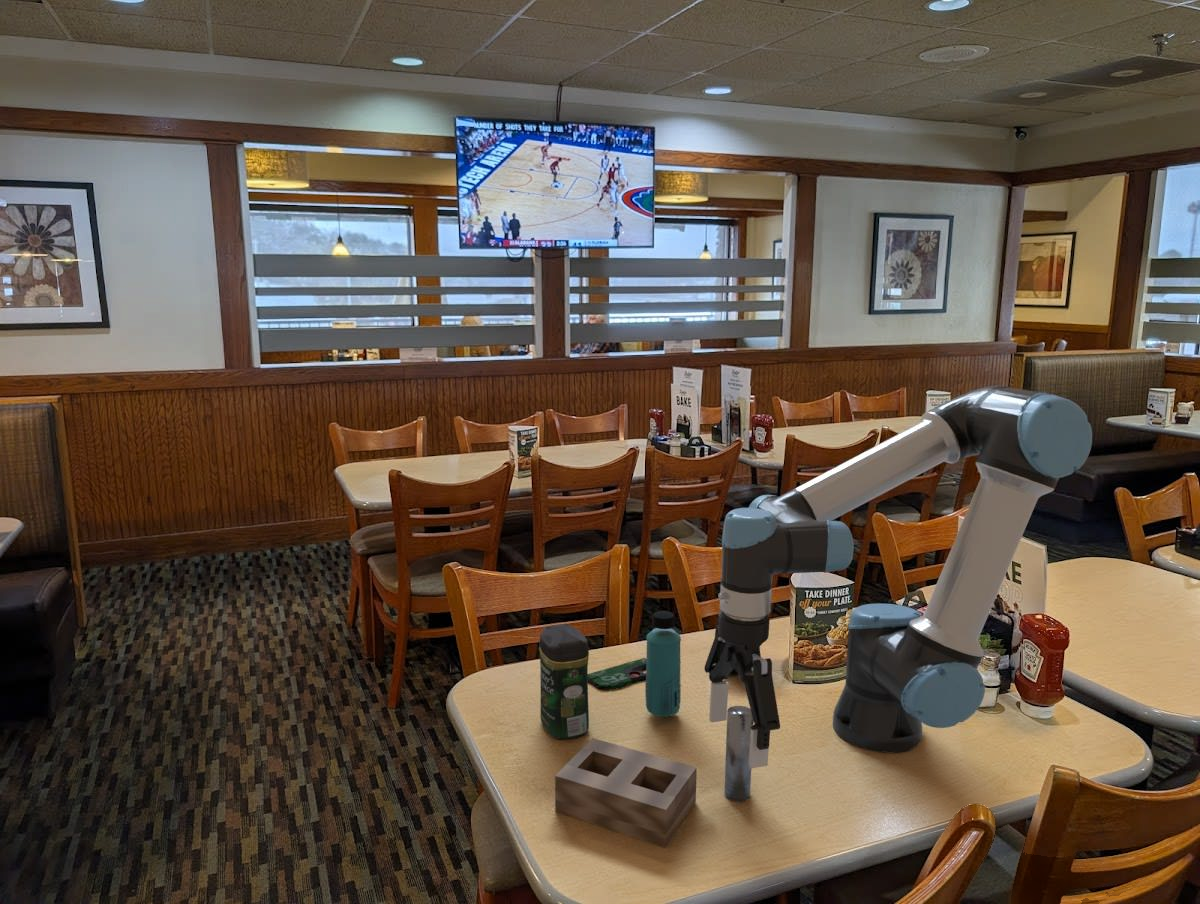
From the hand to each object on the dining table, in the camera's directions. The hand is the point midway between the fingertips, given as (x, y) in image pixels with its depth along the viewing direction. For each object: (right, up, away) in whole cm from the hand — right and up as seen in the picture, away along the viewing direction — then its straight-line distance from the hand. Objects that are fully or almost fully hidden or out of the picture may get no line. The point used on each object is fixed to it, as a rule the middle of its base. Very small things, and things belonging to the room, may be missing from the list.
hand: (736, 742), depth 130 cm
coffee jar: (-28, -5, +22) cm, 35 cm away
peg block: (-17, -9, -1) cm, 20 cm away
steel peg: (0, -9, +2) cm, 9 cm away
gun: (-15, -2, +41) cm, 43 cm away
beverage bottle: (-10, -4, +26) cm, 28 cm away
